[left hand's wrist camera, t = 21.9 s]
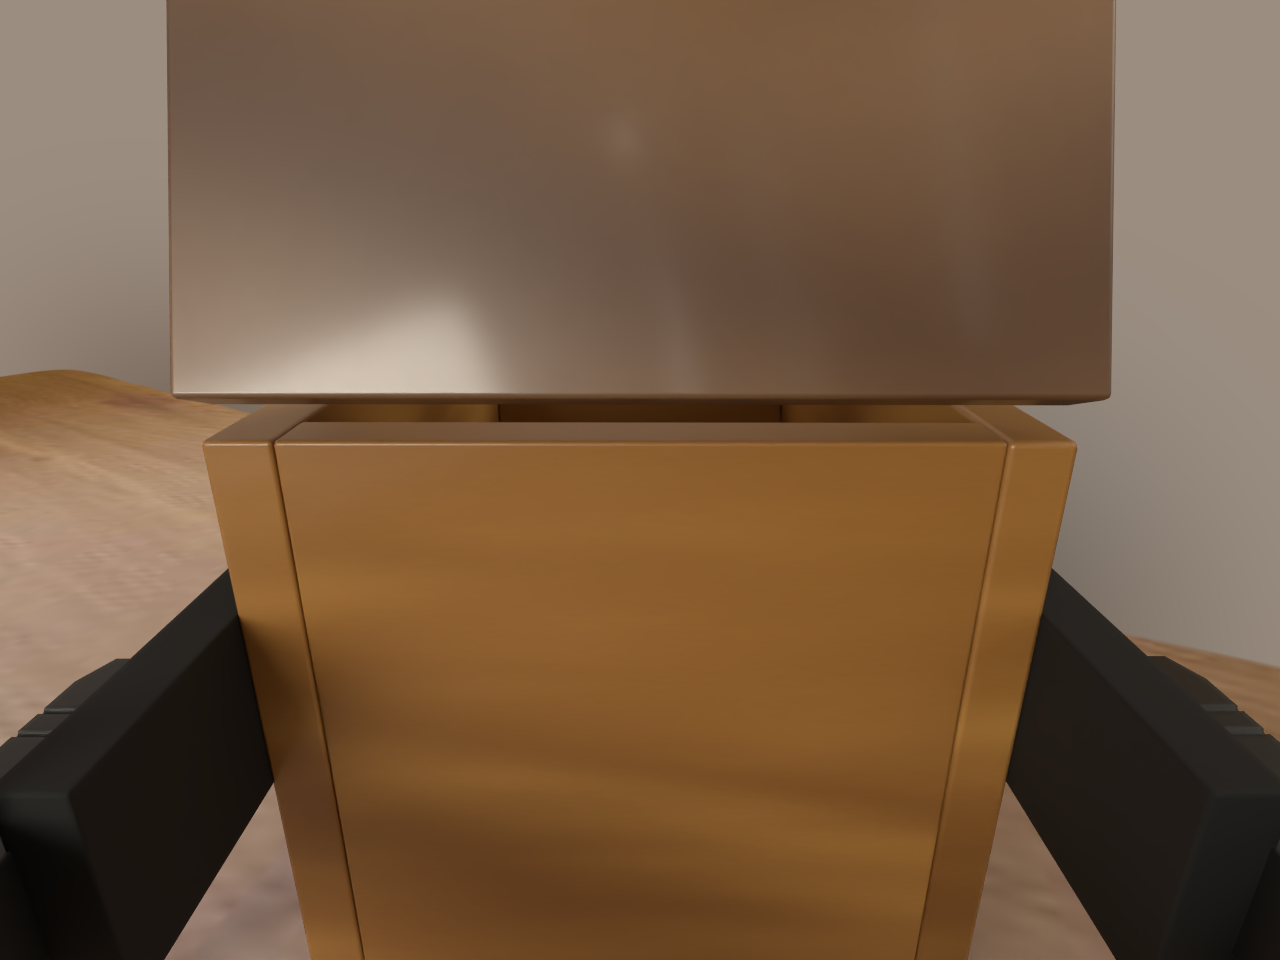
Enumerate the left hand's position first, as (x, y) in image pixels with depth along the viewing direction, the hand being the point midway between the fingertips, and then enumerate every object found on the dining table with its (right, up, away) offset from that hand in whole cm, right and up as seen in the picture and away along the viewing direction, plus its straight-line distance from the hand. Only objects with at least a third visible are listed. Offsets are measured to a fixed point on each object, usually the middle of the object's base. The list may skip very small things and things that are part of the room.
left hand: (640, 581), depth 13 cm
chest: (0, -5, +6) cm, 8 cm away
